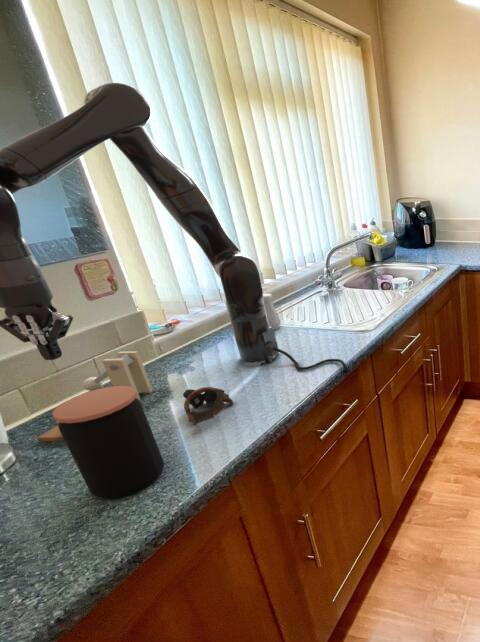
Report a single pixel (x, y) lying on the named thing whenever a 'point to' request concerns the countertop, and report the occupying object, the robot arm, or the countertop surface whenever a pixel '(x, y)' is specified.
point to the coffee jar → (110, 441)
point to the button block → (52, 435)
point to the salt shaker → (271, 312)
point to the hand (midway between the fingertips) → (53, 358)
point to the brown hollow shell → (209, 396)
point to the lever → (101, 377)
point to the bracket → (128, 372)
